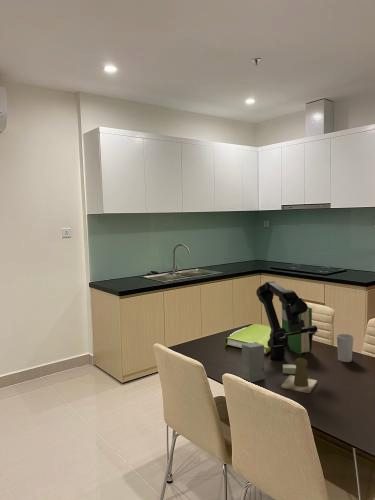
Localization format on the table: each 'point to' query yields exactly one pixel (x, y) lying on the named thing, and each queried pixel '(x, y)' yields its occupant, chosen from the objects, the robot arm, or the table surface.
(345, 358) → the cup
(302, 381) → the cork
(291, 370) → the soap bar
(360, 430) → the table surface
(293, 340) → the hardback book
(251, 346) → the skincare box
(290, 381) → the board
